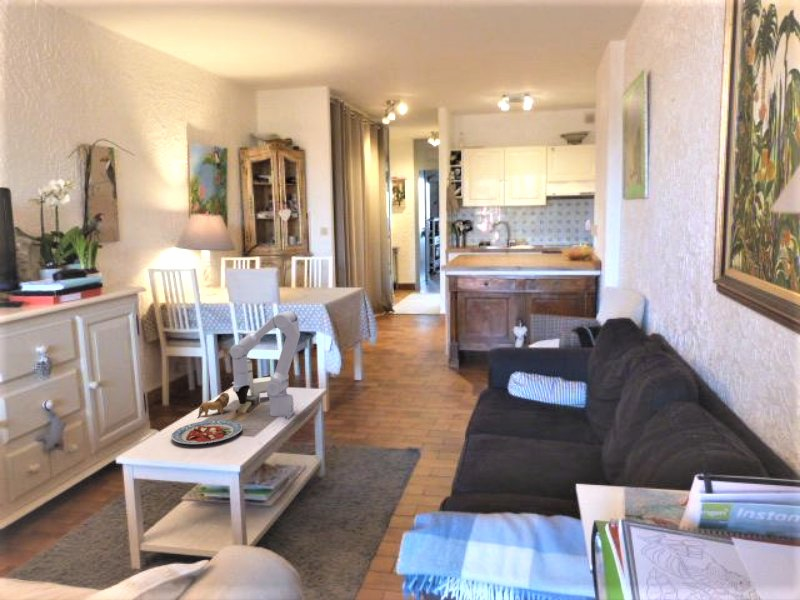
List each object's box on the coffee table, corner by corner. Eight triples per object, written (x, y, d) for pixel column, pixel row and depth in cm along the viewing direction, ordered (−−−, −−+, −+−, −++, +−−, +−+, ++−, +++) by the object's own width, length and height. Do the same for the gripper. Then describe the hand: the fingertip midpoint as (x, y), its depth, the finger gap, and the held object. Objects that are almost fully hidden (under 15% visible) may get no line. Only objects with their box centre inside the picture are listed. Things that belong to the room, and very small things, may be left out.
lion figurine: (227, 411, 265) (225, 390, 264) (232, 413, 262) (231, 393, 260) (194, 419, 256) (192, 398, 254) (199, 422, 252) (198, 400, 251)
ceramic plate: (158, 448, 224) (157, 440, 224) (192, 424, 250) (191, 417, 249) (225, 450, 221) (224, 442, 220) (252, 425, 246) (252, 418, 245)
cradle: (262, 405, 272) (262, 395, 271) (244, 422, 250) (244, 411, 249) (242, 405, 273) (242, 395, 272) (223, 422, 251) (222, 411, 250)
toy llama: (282, 400, 278) (280, 357, 275) (243, 407, 270) (240, 362, 268) (278, 396, 284) (275, 354, 282) (239, 402, 277) (236, 358, 274)
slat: (254, 404, 270) (254, 399, 270) (245, 413, 258) (244, 407, 258) (248, 404, 271) (247, 399, 270) (238, 413, 259) (237, 407, 258)
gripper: (237, 367, 266) (239, 398, 268) (224, 376, 252) (227, 408, 254) (253, 367, 265) (255, 398, 267) (241, 376, 251) (243, 408, 253)
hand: (242, 403), depth 260 cm, fingers closed
